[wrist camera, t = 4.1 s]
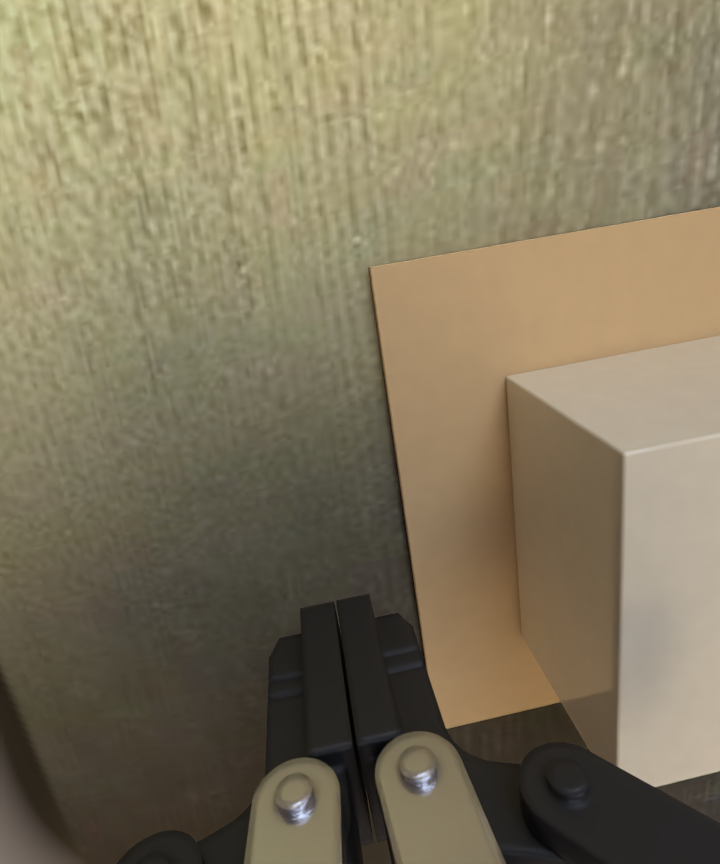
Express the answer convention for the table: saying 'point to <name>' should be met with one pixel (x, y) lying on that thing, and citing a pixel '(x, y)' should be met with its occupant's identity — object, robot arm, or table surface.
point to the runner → (488, 412)
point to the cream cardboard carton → (625, 550)
